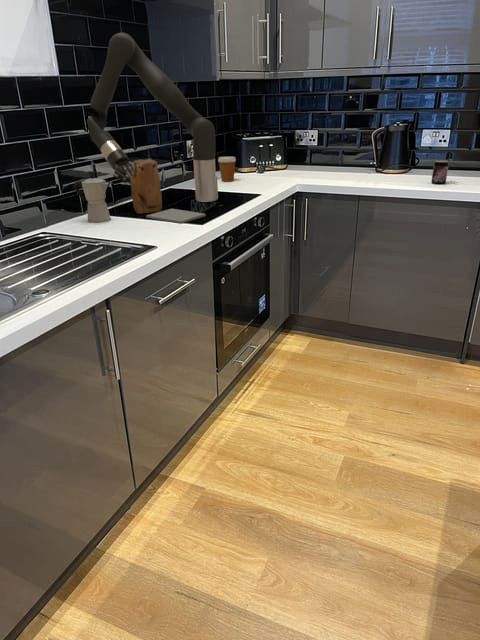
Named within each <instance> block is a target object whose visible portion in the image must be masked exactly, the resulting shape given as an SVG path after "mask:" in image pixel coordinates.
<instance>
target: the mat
mask: <svg viewBox="0 0 480 640" xmlns="http://www.w3.org/2000/svg"><path fill="white" fill-rule="evenodd" d="M206 216H207V215H206V213H202V212H195V211H190V210H184V209H183V210H182V209H176V208H169V209H165V210H160V211H158V212H153V213H151V214H150V213H149V214H146V215H145V217H146V218H148V219H153V220H157V221H164V222H168V223H169V222H170V223H176V224H179V225H180V224H184V223H187V222H190V221H193V220H197V219H200V218H203V217H206Z"/></svg>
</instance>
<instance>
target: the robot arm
mask: <svg viewBox="0 0 480 640" xmlns="http://www.w3.org/2000/svg"><path fill="white" fill-rule="evenodd" d="M126 65H127V66H129V68H131V69H132V70H133V71H134V72H135V73H136V75H137V76H138V77H139V79H140V81H141V82H142V83H143V85H144V87H146V89H147V90H148V91H149V93H150V94H151V95H152V96H153V97H154V99H156V100H157V101H158V103H159V104H160V105H162V107H164V108H165V109H166V110H167V111H168V112H169V113H171V114H172V115H174V117H176V118H177V119H178V120H179V121H180V122H181V123H182V124H183V125H184V127H185V128H186V129H187V131H188V132H189V133H190V135H191V136H192V141H193V143H192V144H193V150H192V151H193V152H192V158H193V159H192V160H193V172H194V173H193V174H194V175H193V176H194V192H195V200H196V202H201V203H207V202H209V203H210V202H214V201H218V199H219V192H218V191H219V186H218V176H216V175H217V174H216V130H215V126H214V124H213V123H212V122H211V120H209V119H206V118H205V117H204V116H202V115H201V114H200V113H199V112H198V111H196V110H195V108H193V106H191V104H190V103H189V102H188V100H187V99H186V97H185V95H184V94H183V93H182V91H181V90H180V89H179V88H178V85H176V84H175V83H174V82H173V81H172V80H171V78H169V76H167V75H166V74H165V73H164V72H163V71H162V70H161V69H160V68H159V67H158V66H157V65H156V64H155V63H154V62H153V61H152V60H150V58H149V57H147V55H146V54H145V53H144V51H143V50H142V49H141V48H140V46H139V45H138V44H137V42H136V41H135V39H134V38H132V35H129V34H128V33H126V32H118V33H115V34H113V35H112V37H110V39H109V42H108V49H107V55H106V60H105V63H104V66H103V70H102V72H101V75H100V76H99V79H98V81H97V84H96V86H95V88H94V91H93V94H92V96H91V99H90V103H89V105H90V107H91V109H93V110H94V111H95V110H96V111H97V112H98V115H99V117H97V116H91V115H90V116H88V119H87V124H88V129H89V133H90V137H91V139H92V140H91V139H90V140H91V141H92V142H93V143H95V145H96V146H97V147H98V149H99V151H100V152H101V154H102V156H103V157H104V158H105V160H106V161H107V163H108V164H109V166H110V167H111V169H113V171H114V172H113V174H112V177H114V178H115V179H117V180H119V181H121V182H122V183H124V184H127V183H128V184H129V185H131V177H132V172H133V170H134V165H133V164H132V163H131V162H130V161H129V157H128V156H127V154H125V152H124V150H123V149H122V148H121V146H120V145H119V144H118V143H117V142H116V140H115V139H114V137H113V136H112V135H111V134H110V132H108V131H107V130H105V128H106V124H107V118H108V117H107V116H108V109H109V107H110V104H112V103H111V102H112V100H113V98H114V94H115V91H116V88H117V86H118V85H117V84H118V81H119V78H120V76H121V74H122V72H123V70H124V68H125V66H126Z"/></svg>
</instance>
